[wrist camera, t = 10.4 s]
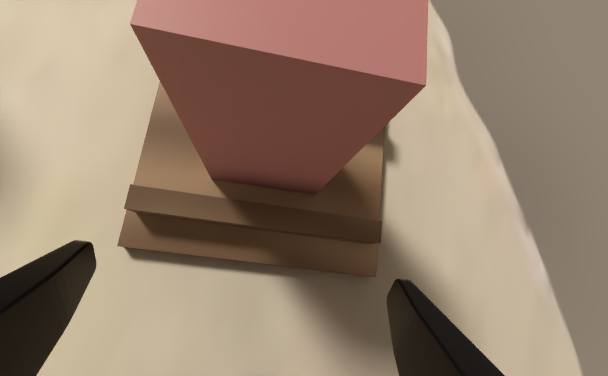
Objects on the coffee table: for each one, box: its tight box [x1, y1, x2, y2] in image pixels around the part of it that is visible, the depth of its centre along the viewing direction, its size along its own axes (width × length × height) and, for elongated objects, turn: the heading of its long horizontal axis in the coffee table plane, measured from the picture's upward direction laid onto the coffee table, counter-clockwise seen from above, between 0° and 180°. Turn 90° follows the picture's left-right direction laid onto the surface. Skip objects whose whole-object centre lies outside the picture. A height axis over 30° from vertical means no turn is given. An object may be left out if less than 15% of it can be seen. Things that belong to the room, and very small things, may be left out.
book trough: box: [118, 82, 385, 277], centre depth 18 cm, size 12×14×2 cm
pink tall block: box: [130, 0, 428, 195], centre depth 12 cm, size 4×6×12 cm, turn 83°
